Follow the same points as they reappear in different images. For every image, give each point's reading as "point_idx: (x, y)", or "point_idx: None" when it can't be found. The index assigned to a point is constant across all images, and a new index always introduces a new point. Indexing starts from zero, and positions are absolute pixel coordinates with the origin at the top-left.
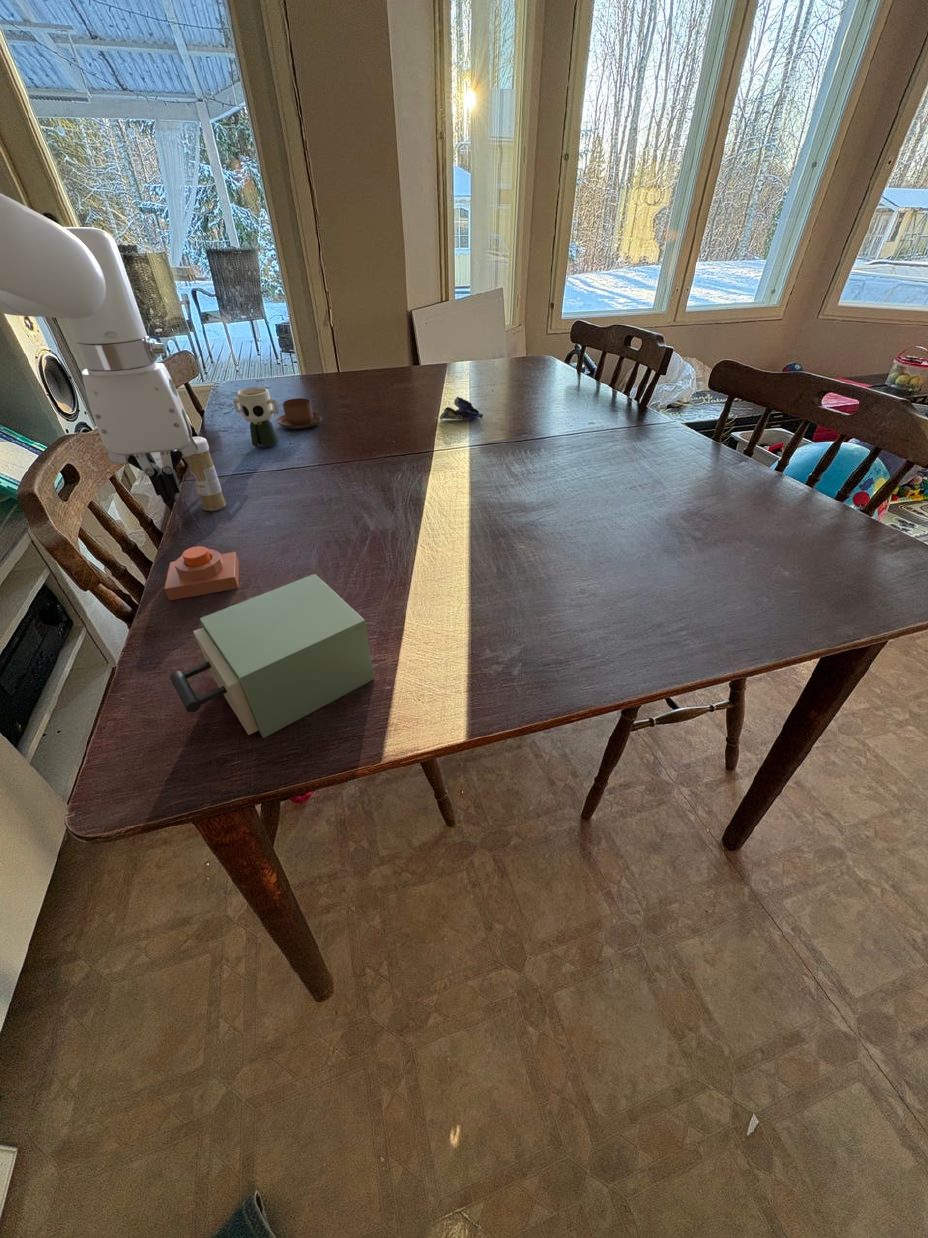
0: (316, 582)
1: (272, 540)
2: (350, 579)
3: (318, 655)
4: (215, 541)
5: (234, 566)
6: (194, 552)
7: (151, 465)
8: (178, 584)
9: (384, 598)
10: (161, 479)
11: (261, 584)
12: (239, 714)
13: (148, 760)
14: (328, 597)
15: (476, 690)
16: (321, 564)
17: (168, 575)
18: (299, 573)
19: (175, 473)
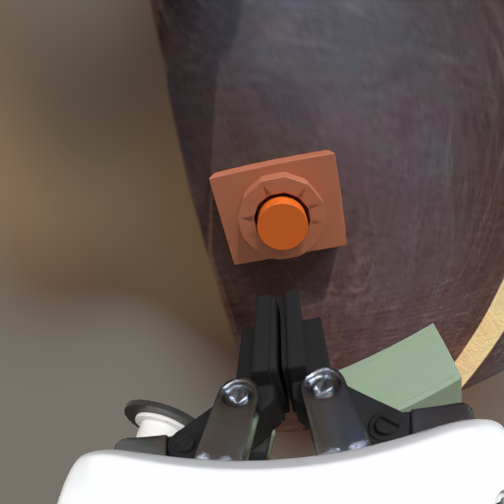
0: (456, 388)
1: (377, 76)
2: (477, 234)
3: None
4: (256, 58)
5: (342, 210)
6: (282, 229)
7: (270, 445)
8: (254, 255)
9: (490, 276)
10: (288, 398)
11: (375, 227)
12: None
13: (293, 413)
14: (453, 401)
15: (481, 367)
16: (455, 186)
17: (225, 226)
18: (427, 206)
19: (328, 361)
